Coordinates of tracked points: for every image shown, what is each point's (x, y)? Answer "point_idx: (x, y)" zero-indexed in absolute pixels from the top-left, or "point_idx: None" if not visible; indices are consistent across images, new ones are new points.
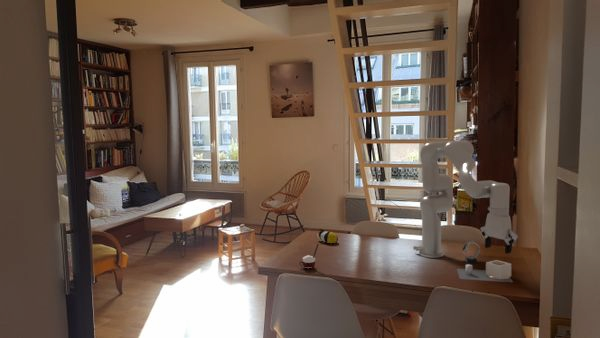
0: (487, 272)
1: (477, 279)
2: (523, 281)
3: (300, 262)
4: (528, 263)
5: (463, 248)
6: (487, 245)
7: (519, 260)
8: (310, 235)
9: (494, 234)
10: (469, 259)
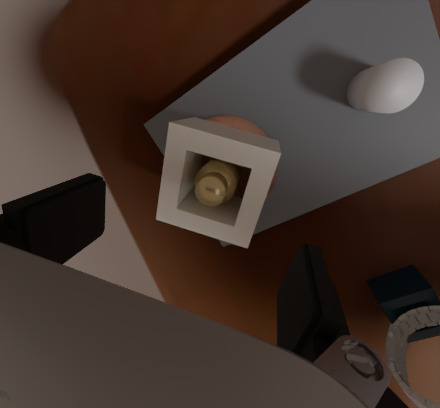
0: (268, 139)
1: (293, 26)
2: (150, 202)
3: None
4: None
5: None
6: (298, 267)
7: None
8: None
9: (37, 343)
10: (421, 292)
